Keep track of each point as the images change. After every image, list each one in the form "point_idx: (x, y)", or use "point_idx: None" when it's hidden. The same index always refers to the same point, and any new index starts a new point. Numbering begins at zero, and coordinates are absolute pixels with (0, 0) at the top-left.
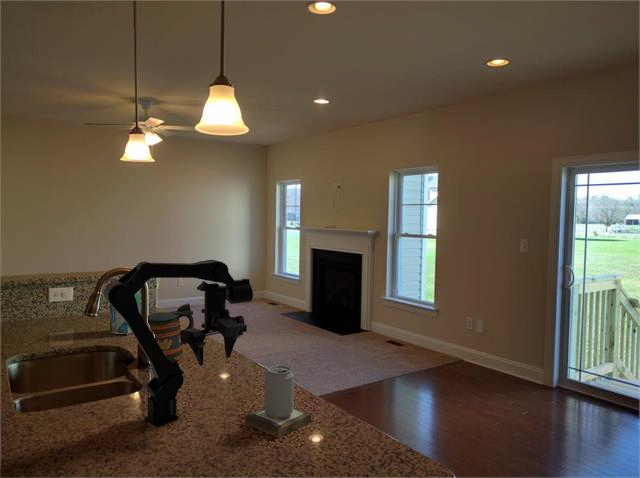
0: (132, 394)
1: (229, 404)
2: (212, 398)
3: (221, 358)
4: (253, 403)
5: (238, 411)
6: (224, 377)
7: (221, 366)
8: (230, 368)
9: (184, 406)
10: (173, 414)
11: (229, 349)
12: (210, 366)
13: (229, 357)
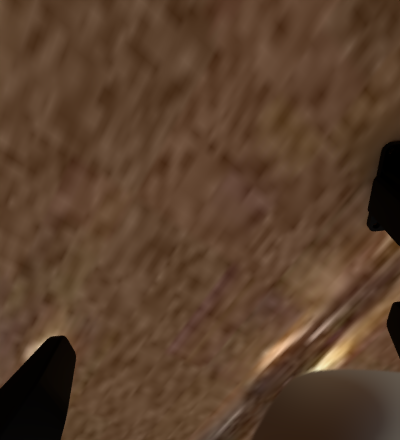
0: (332, 367)
1: (138, 139)
2: (168, 231)
3: None
4: (26, 69)
5: (139, 29)
6: None
7: None
8: None
9: (287, 230)
10: (397, 170)
11: (13, 432)
12: None
13: (52, 337)
